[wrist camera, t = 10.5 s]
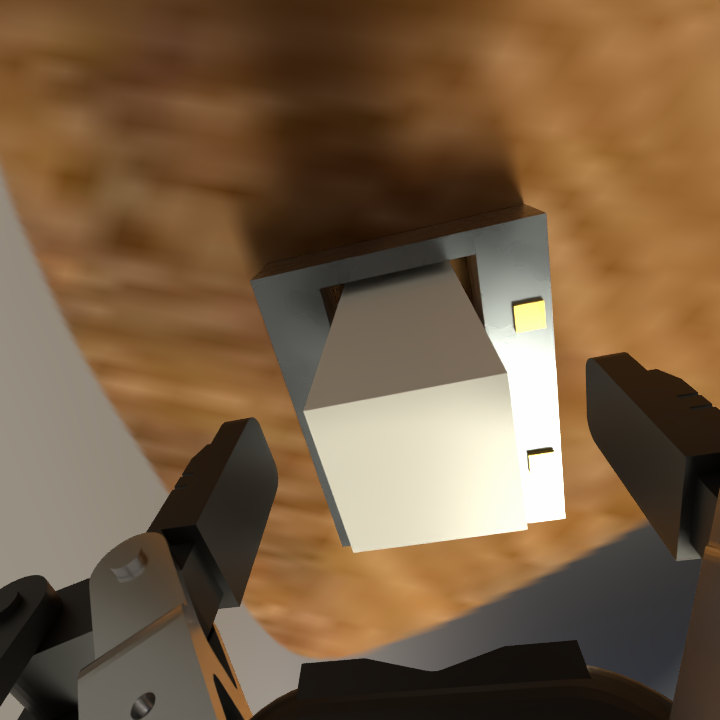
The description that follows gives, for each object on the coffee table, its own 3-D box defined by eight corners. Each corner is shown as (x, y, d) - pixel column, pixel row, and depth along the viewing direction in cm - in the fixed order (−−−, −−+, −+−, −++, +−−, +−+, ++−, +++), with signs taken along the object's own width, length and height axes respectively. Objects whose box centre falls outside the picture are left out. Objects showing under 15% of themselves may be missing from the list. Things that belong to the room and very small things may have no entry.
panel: (267, 263, 18) (248, 282, 15) (524, 204, 16) (548, 213, 14) (347, 507, 23) (342, 549, 21) (546, 479, 22) (566, 521, 19)
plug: (346, 278, 18) (303, 411, 9) (445, 255, 17) (507, 372, 8) (375, 387, 20) (364, 584, 11) (465, 369, 19) (532, 564, 10)
